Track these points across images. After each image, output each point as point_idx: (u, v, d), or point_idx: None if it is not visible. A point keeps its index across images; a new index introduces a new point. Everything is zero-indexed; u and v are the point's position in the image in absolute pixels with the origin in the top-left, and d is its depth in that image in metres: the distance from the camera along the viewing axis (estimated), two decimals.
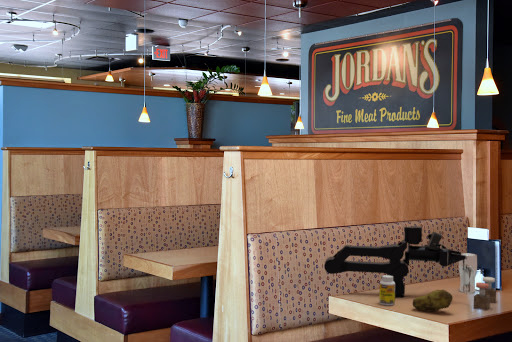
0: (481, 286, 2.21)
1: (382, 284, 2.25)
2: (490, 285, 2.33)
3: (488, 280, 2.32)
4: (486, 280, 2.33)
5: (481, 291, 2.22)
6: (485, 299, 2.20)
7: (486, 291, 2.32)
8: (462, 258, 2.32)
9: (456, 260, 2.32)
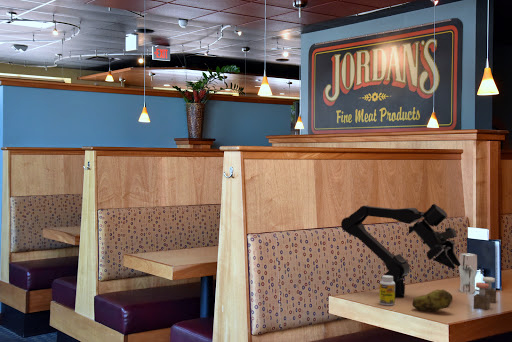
0: (481, 286, 2.21)
1: (382, 284, 2.25)
2: (490, 285, 2.33)
3: (488, 280, 2.32)
4: (486, 280, 2.33)
5: (481, 291, 2.22)
6: (485, 299, 2.20)
7: (486, 291, 2.32)
8: (450, 266, 2.25)
9: (444, 263, 2.26)
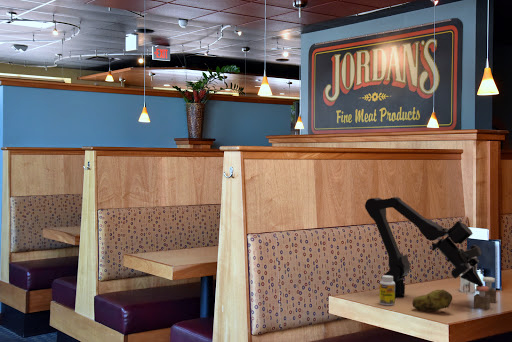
0: (481, 289, 2.21)
1: (382, 284, 2.25)
2: (490, 285, 2.33)
3: (488, 280, 2.32)
4: (486, 280, 2.33)
5: (481, 294, 2.22)
6: (485, 299, 2.20)
7: (486, 291, 2.32)
8: (478, 284, 2.23)
9: (471, 280, 2.24)
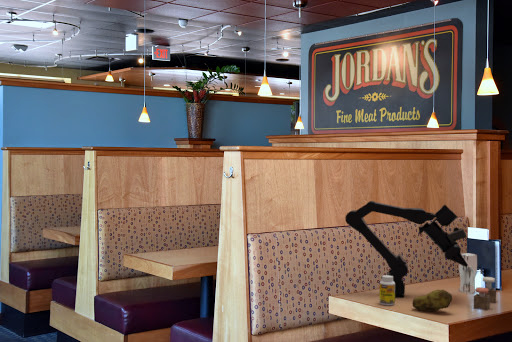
0: (481, 291, 2.21)
1: (382, 284, 2.25)
2: (490, 285, 2.33)
3: (488, 280, 2.32)
4: (486, 280, 2.33)
5: (481, 296, 2.22)
6: (485, 299, 2.20)
7: None
8: (463, 264, 2.34)
9: (458, 261, 2.34)
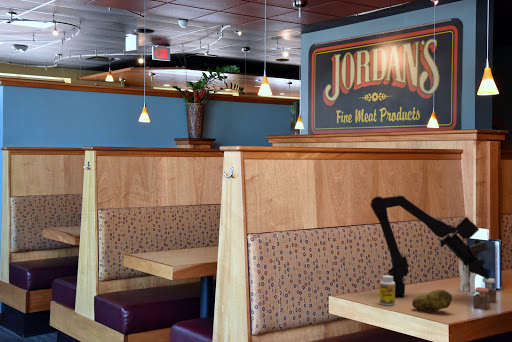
0: (481, 291, 2.21)
1: (382, 284, 2.25)
2: (490, 286, 2.33)
3: (488, 281, 2.32)
4: (486, 281, 2.33)
5: (481, 296, 2.22)
6: (485, 299, 2.20)
7: None
8: (486, 276, 2.34)
9: (480, 273, 2.33)
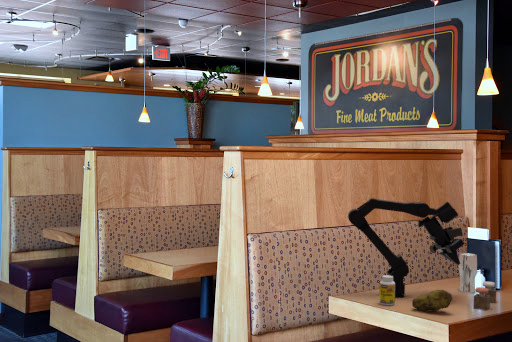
0: (481, 291, 2.21)
1: (382, 284, 2.25)
2: None
3: (488, 285, 2.32)
4: (486, 285, 2.33)
5: (481, 296, 2.22)
6: (485, 299, 2.20)
7: None
8: (457, 262, 2.38)
9: (453, 258, 2.37)
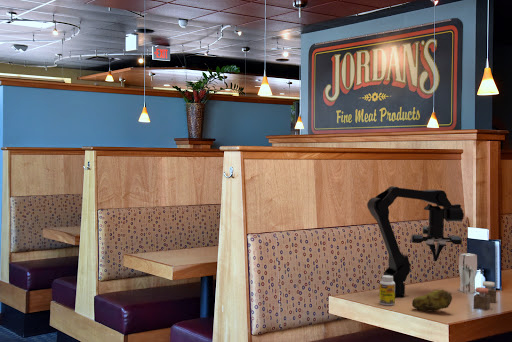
0: (481, 291, 2.21)
1: (382, 284, 2.25)
2: None
3: (488, 285, 2.32)
4: (486, 285, 2.33)
5: (481, 296, 2.22)
6: (485, 299, 2.20)
7: None
8: (437, 258, 2.44)
9: None
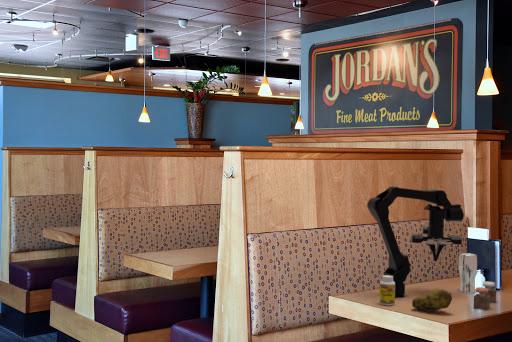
0: (481, 291, 2.21)
1: (382, 284, 2.25)
2: None
3: (488, 285, 2.32)
4: (486, 285, 2.33)
5: (481, 296, 2.22)
6: (485, 299, 2.20)
7: None
8: (437, 258, 2.44)
9: None
